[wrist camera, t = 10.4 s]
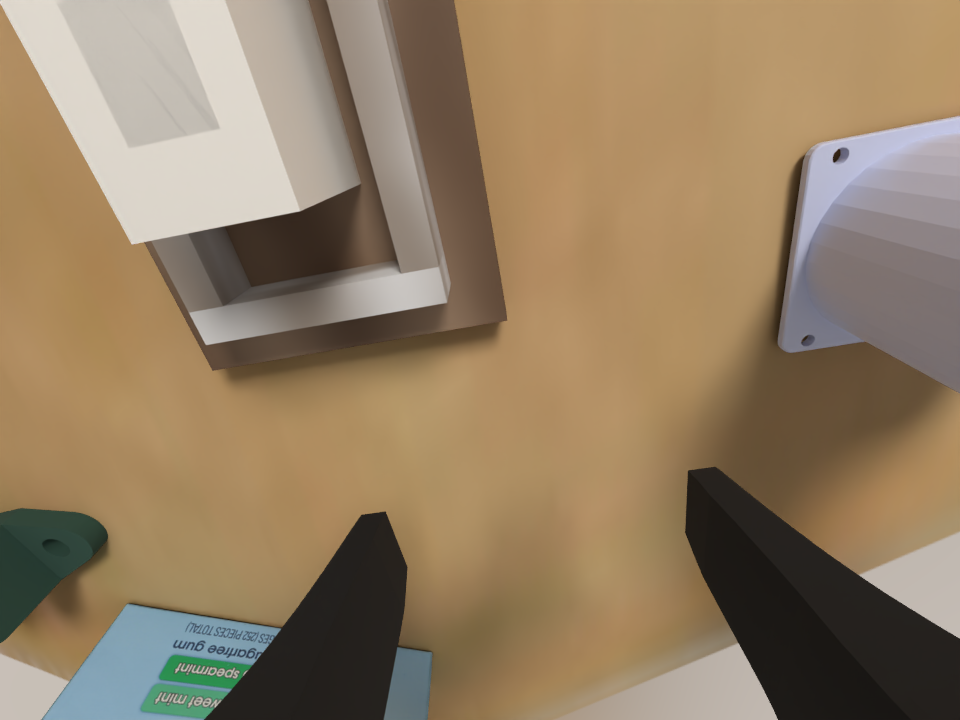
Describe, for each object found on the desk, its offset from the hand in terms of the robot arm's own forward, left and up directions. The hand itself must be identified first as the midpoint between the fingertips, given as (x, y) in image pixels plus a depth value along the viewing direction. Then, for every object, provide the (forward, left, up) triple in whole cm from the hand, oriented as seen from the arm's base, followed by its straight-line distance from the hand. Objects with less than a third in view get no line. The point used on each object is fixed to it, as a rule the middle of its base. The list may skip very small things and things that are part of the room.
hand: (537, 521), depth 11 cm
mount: (+29, +7, -10) cm, 31 cm away
